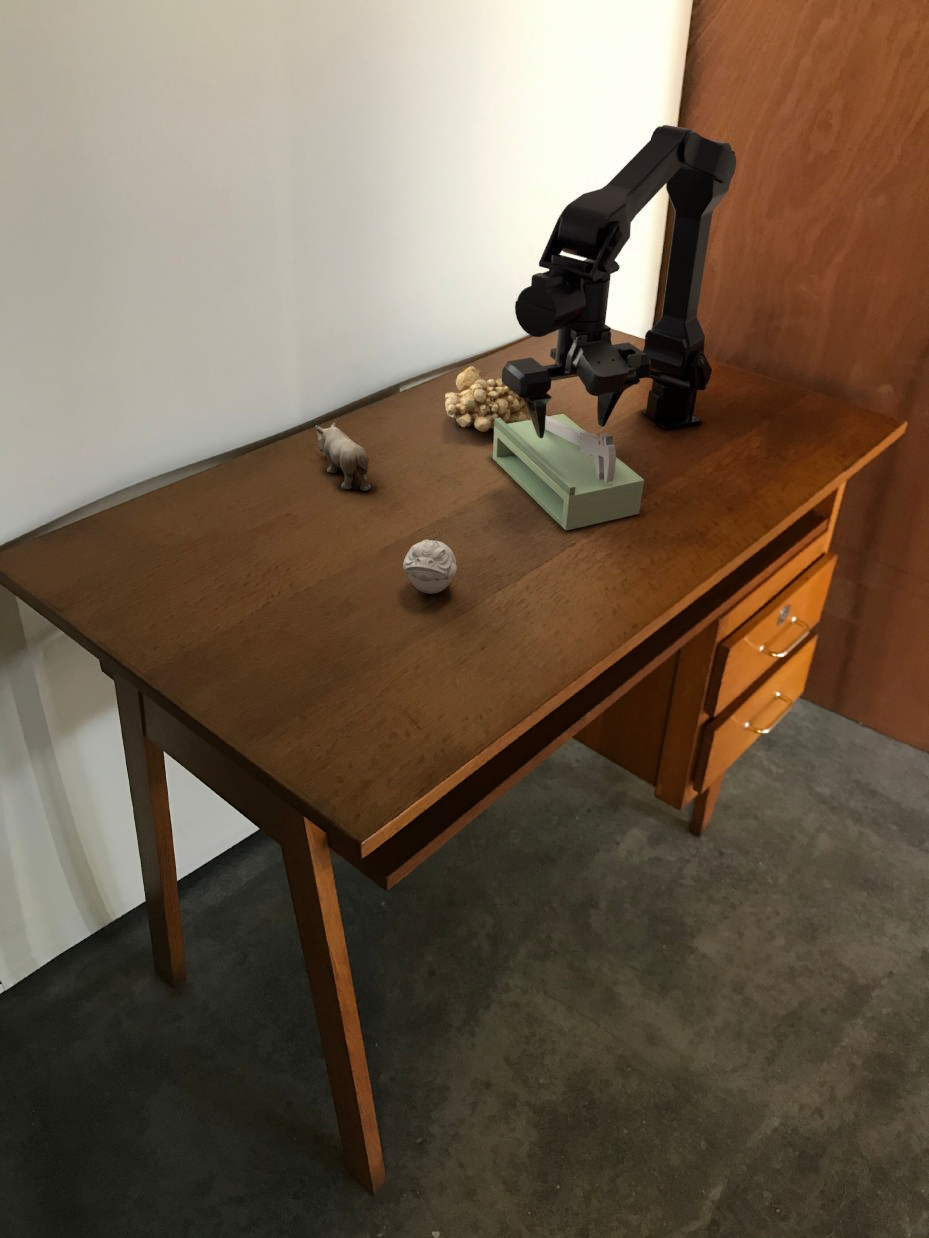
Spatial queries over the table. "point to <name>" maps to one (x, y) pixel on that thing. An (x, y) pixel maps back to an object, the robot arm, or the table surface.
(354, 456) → the rhino figurine
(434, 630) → the table surface
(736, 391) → the table surface
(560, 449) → the desk shelf
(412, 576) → the frog figurine
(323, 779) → the table surface
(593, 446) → the caliper
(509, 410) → the mineral formation
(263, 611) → the table surface
